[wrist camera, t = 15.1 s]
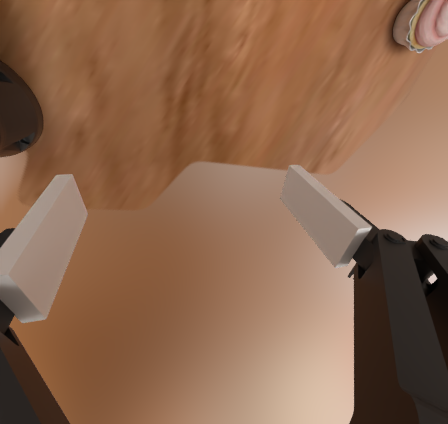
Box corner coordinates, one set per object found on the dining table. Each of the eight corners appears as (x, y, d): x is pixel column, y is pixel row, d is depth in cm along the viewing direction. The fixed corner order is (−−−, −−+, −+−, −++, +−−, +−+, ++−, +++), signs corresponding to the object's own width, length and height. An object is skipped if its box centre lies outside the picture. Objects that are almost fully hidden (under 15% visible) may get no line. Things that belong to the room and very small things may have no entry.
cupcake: (443, -16, 38) (516, -31, 30) (416, 50, 44) (471, 52, 36) (398, -15, 36) (462, -30, 29) (376, 54, 42) (425, 56, 34)
